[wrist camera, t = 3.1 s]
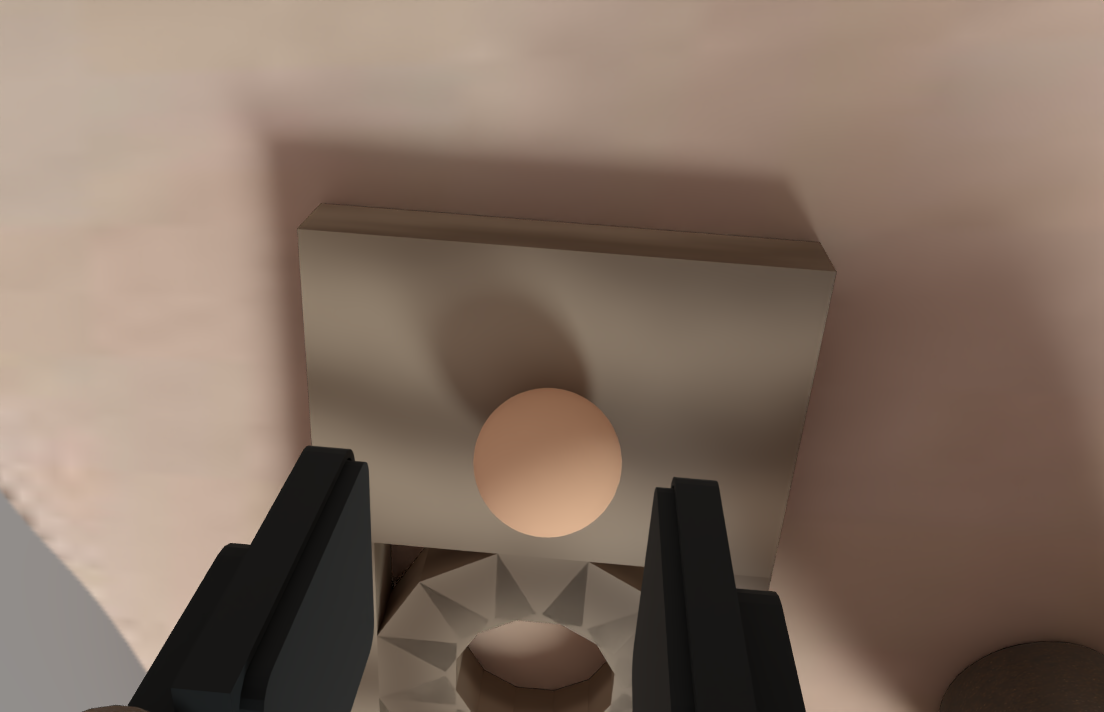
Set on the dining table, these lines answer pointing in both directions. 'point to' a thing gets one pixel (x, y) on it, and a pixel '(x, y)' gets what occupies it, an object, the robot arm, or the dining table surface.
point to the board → (547, 362)
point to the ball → (547, 462)
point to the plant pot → (1031, 681)
